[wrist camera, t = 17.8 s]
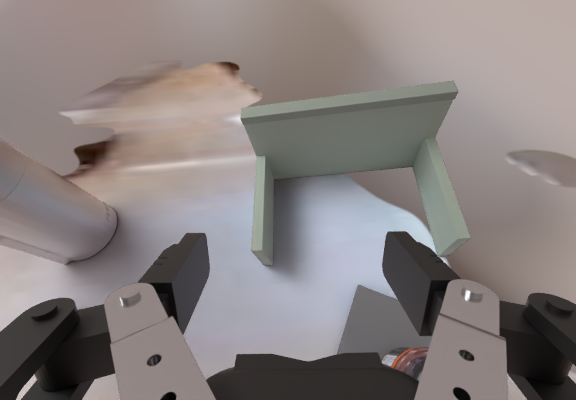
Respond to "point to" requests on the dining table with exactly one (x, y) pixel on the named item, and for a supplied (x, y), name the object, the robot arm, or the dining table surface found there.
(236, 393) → the robot arm
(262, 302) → the dining table surface
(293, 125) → the sage green open tray
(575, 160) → the dining table surface
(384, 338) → the slate tile
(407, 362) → the supplement bottle
